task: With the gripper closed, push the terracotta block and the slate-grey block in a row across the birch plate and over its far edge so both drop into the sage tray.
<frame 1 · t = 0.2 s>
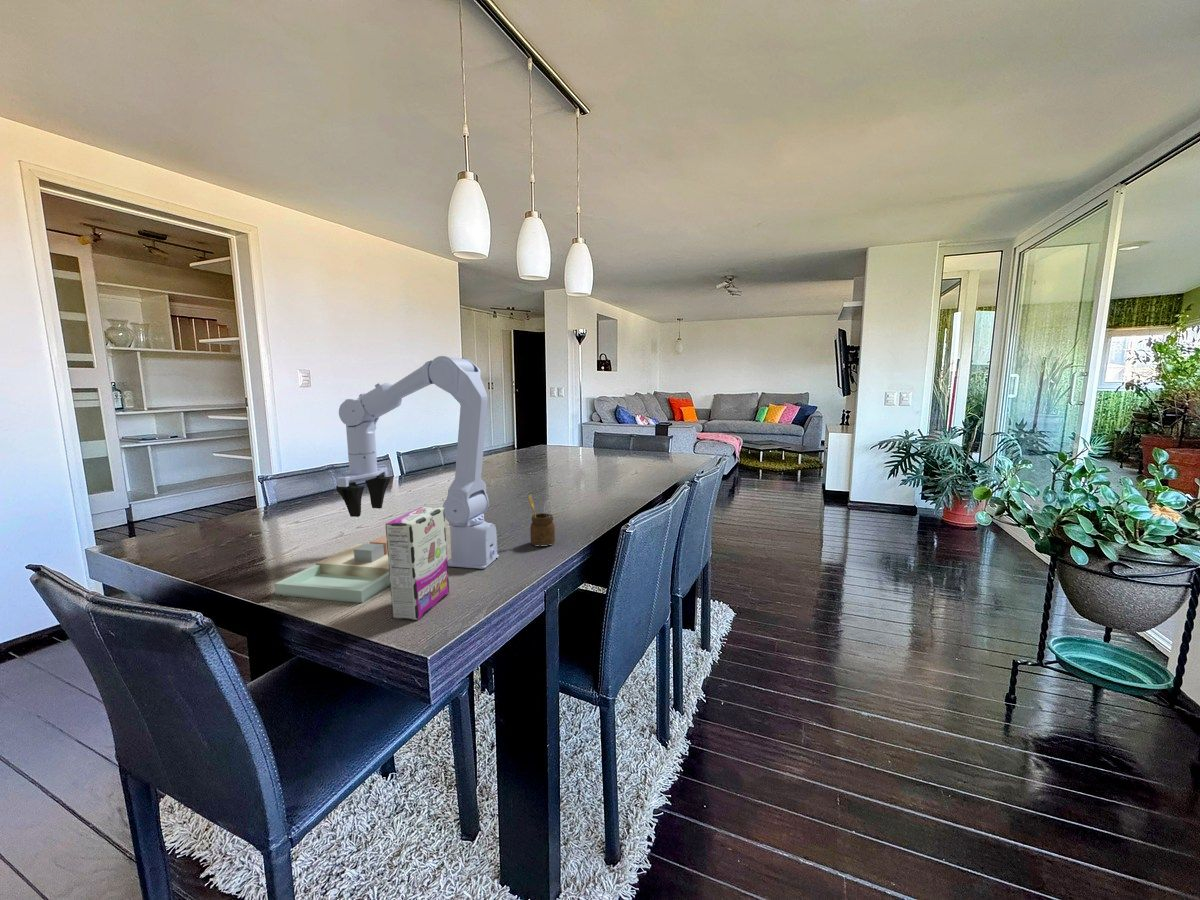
hand: (366, 512, 112), 10 cm above the table, tool pointing down, fingers open, 7 cm apart
sage tray: (337, 587, 94), on the table
candy bar box: (421, 606, 86), on the table
slate-grey block: (369, 558, 103), point 2 cm above the table, touching birch plate
utensil holder: (542, 544, 120), on the table
terracotta block: (384, 550, 107), point 2 cm above the table, touching birch plate
birch plate: (376, 566, 105), on the table
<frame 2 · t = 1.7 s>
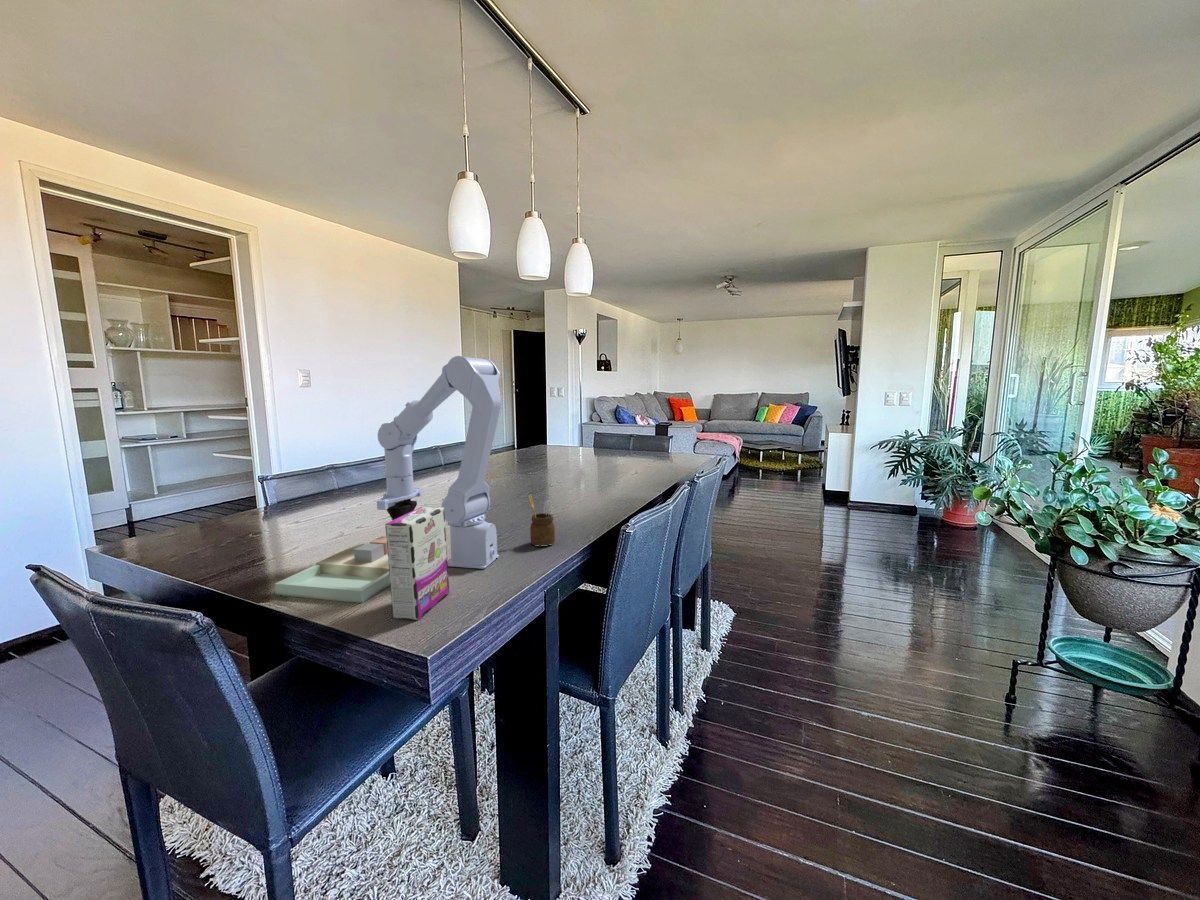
hand: (402, 533, 114), 4 cm above the table, tool pointing down, fingers closed
nothing on the table moved.
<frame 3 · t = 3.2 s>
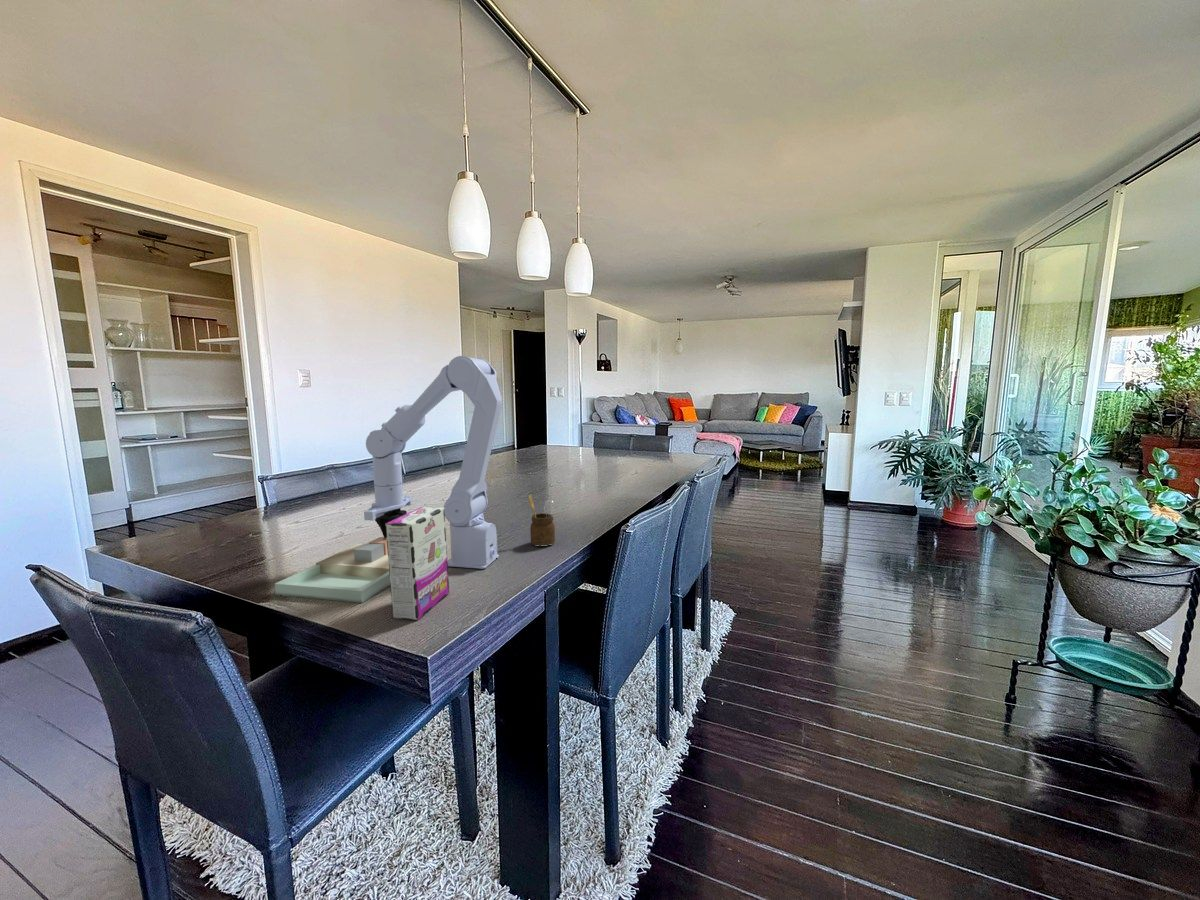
hand: (391, 543, 110), 3 cm above the table, tool pointing down, fingers closed
terracotta block: (383, 551, 107), point 3 cm above the table, touching birch plate, gripper
everything else where it was.
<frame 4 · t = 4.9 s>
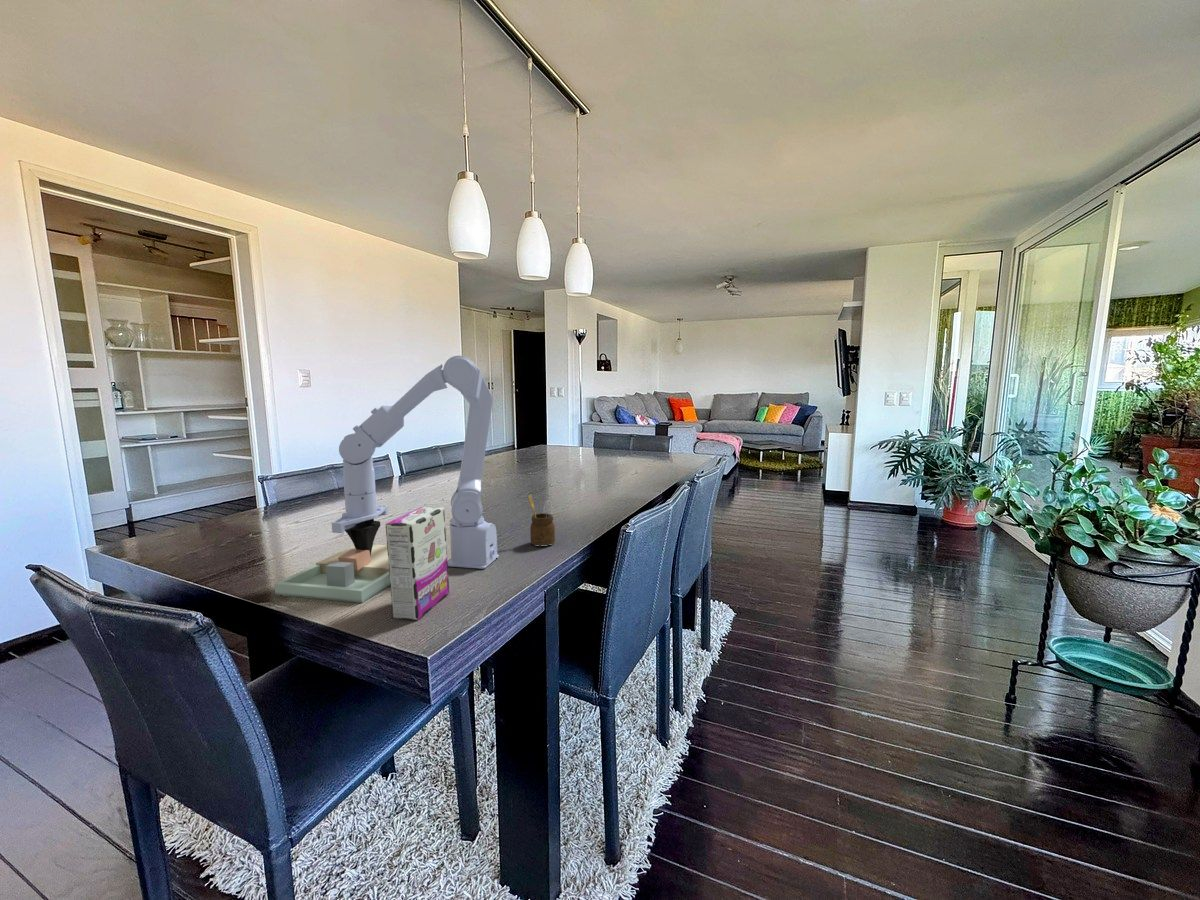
hand: (364, 557, 101), 3 cm above the table, tool pointing down, fingers closed, pressing on terracotta block
slate-grey block: (344, 571, 95), point 2 cm above the table, tilted 90°, touching sage tray
terracotta block: (355, 565, 98), point 3 cm above the table, tilted 5°, touching birch plate, gripper
everything else where it was.
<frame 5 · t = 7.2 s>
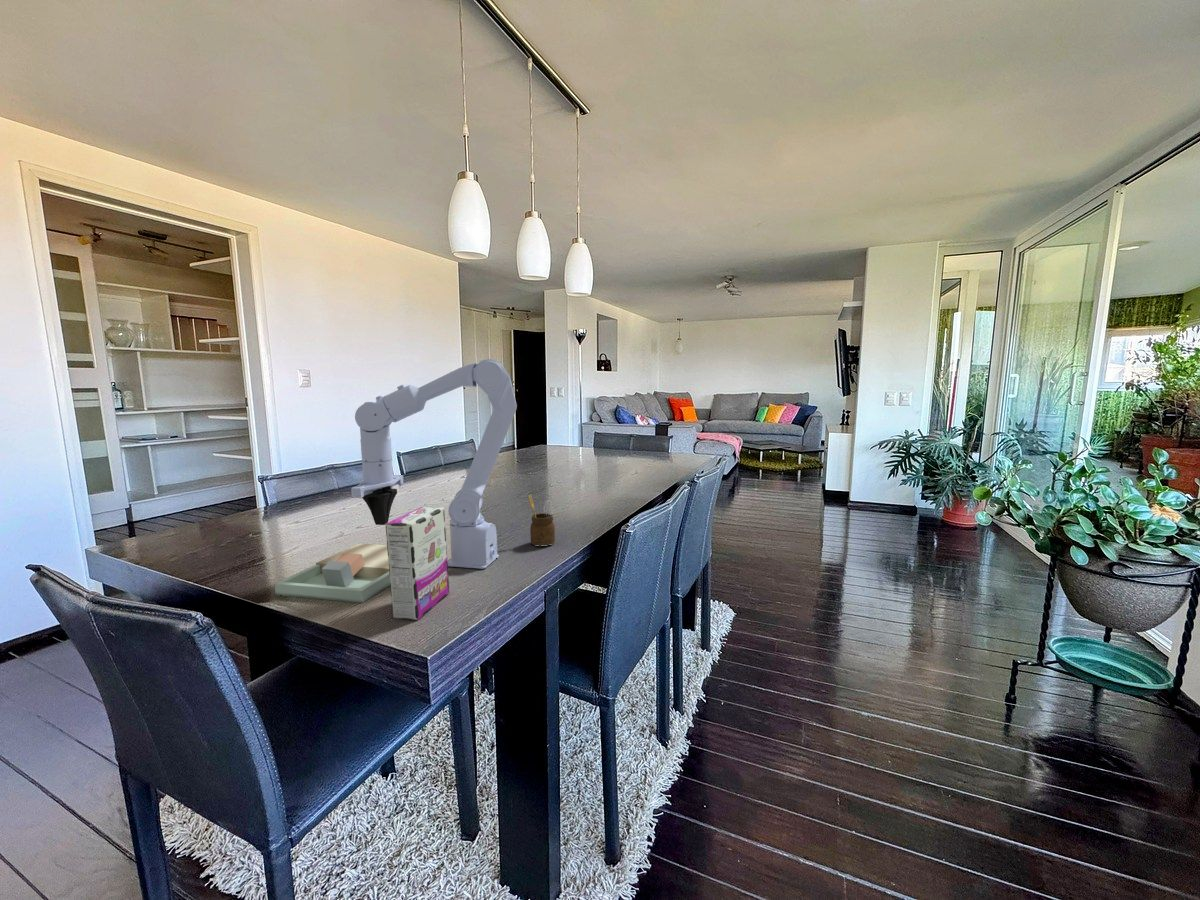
hand: (381, 524, 104), 9 cm above the table, tool pointing down, fingers closed
slate-grey block: (342, 570, 95), point 3 cm above the table, tilted 105°, touching sage tray, terracotta block
terracotta block: (349, 570, 97), point 2 cm above the table, tilted 16°, touching birch plate, slate-grey block
everything else where it was.
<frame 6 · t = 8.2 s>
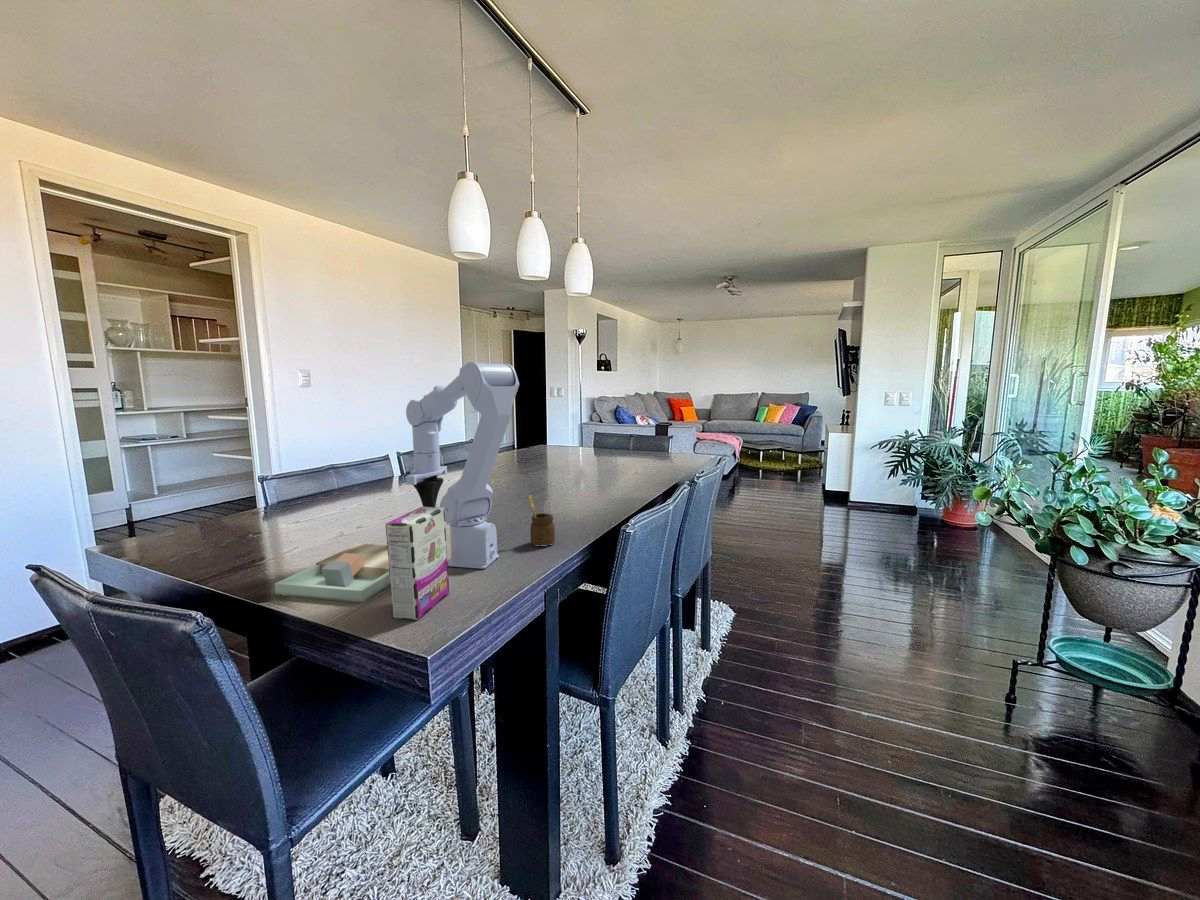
hand: (429, 509, 116), 9 cm above the table, tool pointing down, fingers closed
nothing on the table moved.
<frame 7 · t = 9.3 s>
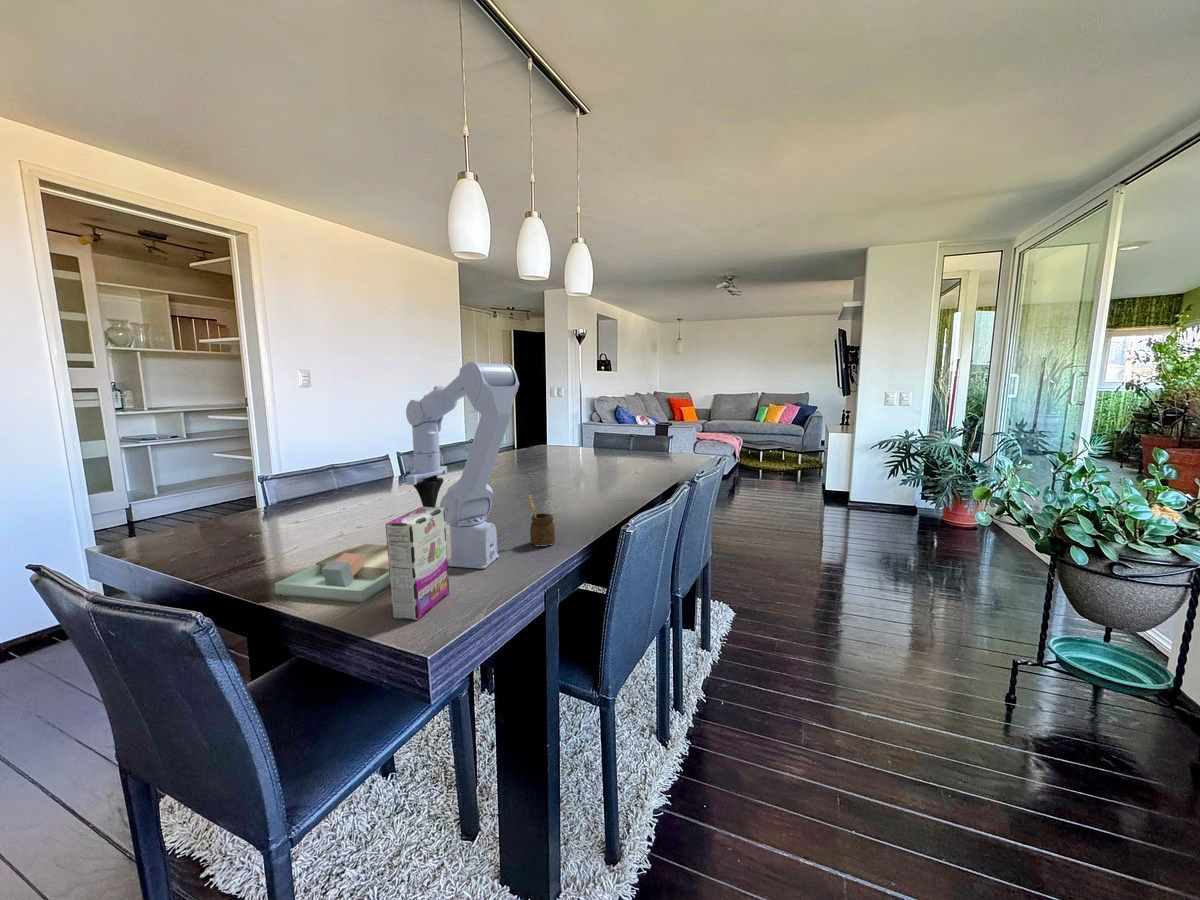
hand: (429, 509, 116), 9 cm above the table, tool pointing down, fingers closed
nothing on the table moved.
at the end: terracotta block inside the target area (3.7 cm from its centre), point 2.1 cm above the table; slate-grey block inside the target area (1.4 cm from its centre), point 3.0 cm above the table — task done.
